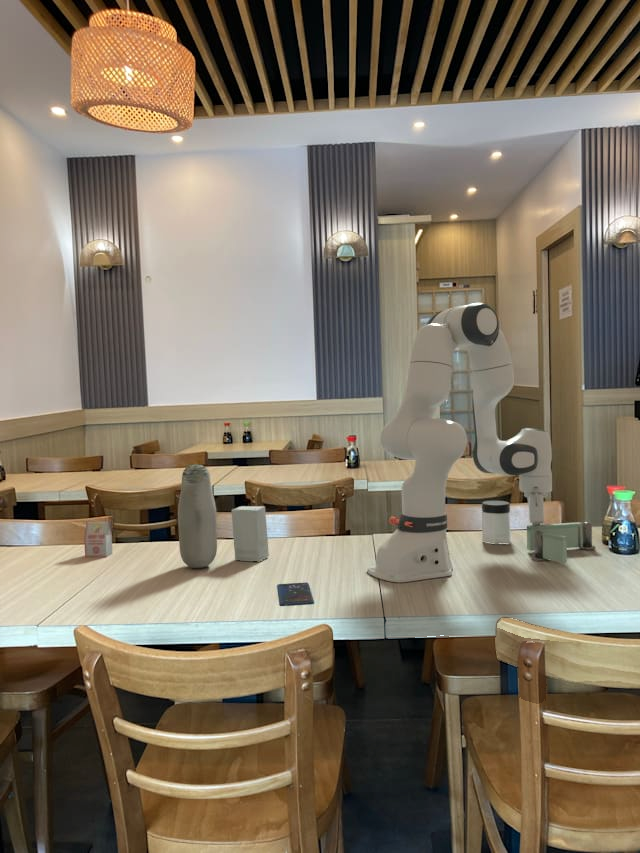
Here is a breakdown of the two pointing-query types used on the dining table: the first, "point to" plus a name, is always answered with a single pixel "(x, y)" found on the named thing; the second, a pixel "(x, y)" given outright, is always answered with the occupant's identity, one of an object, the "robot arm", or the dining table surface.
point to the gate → (564, 529)
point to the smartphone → (294, 594)
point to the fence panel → (554, 547)
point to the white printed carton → (98, 539)
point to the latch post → (538, 547)
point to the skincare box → (250, 533)
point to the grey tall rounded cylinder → (197, 518)
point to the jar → (496, 522)
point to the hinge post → (587, 536)
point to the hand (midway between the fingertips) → (536, 532)
